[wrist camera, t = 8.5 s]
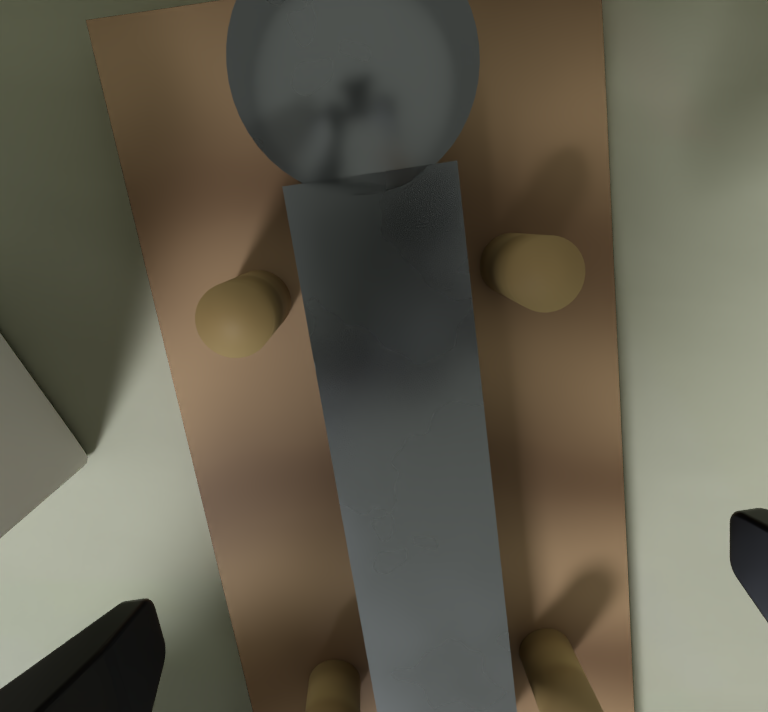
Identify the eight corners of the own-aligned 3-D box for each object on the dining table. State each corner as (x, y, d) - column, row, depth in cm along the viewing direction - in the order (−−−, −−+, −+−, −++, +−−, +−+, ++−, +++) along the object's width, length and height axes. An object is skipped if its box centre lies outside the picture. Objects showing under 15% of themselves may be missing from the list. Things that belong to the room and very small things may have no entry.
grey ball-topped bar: (521, 719, 18) (552, 816, 15) (374, 742, 18) (376, 842, 15) (442, -29, 13) (465, -101, 10) (237, 2, 13) (200, -62, 10)
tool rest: (619, 769, 20) (688, 918, 16) (294, 817, 20) (275, 979, 16) (575, -28, 14) (668, -137, 10) (114, 40, 14) (4, -40, 10)
